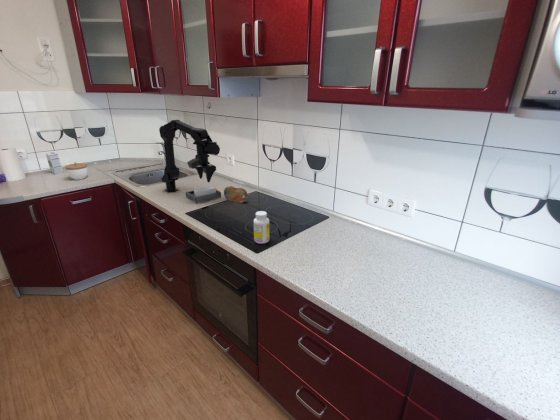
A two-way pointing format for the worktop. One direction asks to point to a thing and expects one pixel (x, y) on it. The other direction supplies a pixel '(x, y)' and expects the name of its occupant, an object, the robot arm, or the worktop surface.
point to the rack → (203, 198)
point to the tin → (235, 194)
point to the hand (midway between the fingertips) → (204, 180)
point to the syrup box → (54, 163)
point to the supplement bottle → (261, 227)
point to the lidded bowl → (77, 170)
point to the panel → (204, 191)
